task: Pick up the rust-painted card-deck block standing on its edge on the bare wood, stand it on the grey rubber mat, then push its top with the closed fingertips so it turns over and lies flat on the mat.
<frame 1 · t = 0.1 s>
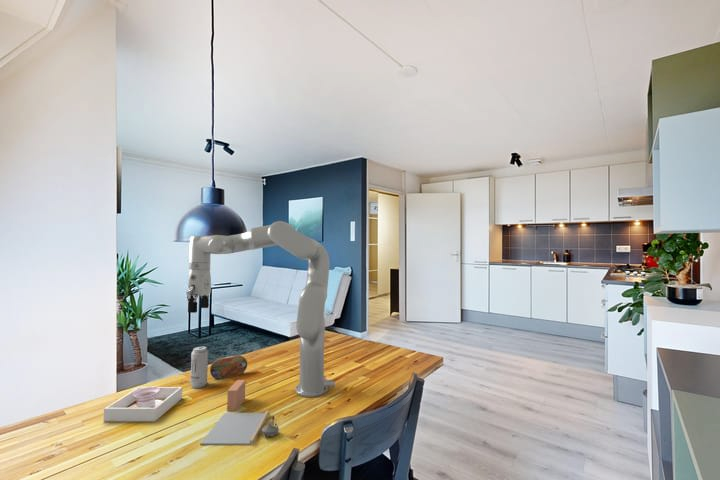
hand: (198, 310, 126), 31 cm above the table, fingers open, 9 cm apart
mat: (236, 428, 99), on the table
energy drink can: (198, 386, 129), on the table
tin: (228, 376, 140), on the table
rectangular tray: (145, 408, 110), on the table
figurine: (270, 435, 95), on the table
deck: (236, 405, 114), on the table
teacup: (145, 410, 110), resting in rectangular tray
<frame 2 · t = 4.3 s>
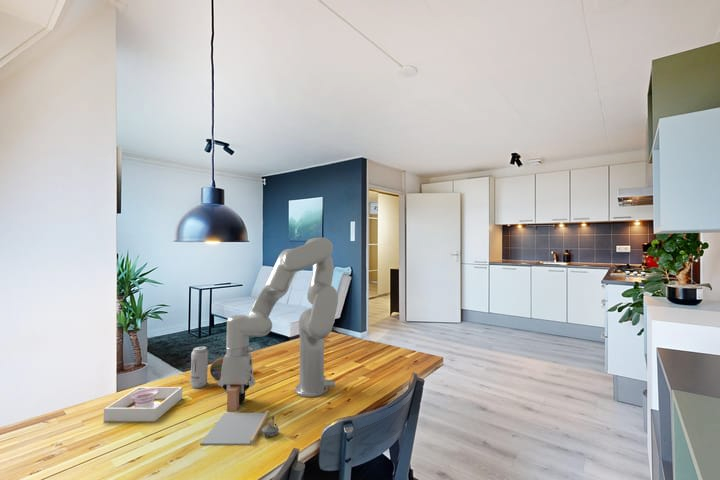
hand: (236, 402, 114), 1 cm above the table, fingers closed on deck, 3 cm apart
deck: (236, 404, 114), on the table, touching gripper
teacup: (143, 412, 109), resting in rectangular tray
everything else where it was.
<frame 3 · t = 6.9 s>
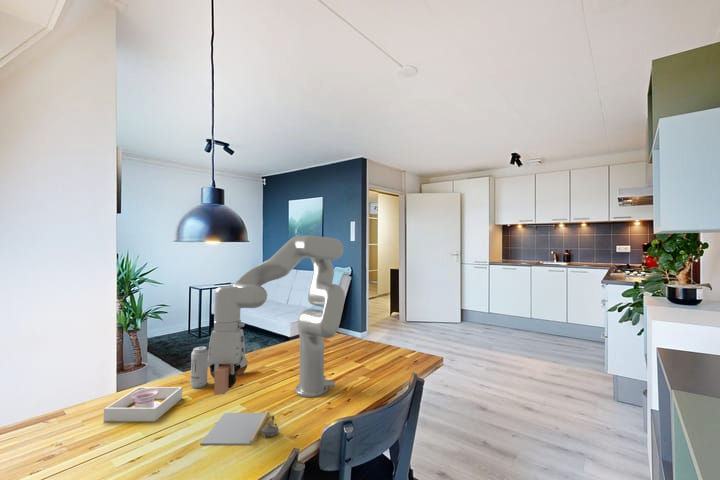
hand: (225, 385, 99), 13 cm above the table, fingers closed on deck, 3 cm apart
deck: (225, 387, 99), point 12 cm above the table, touching gripper
everything else where it was.
when the fingers open (2 cm above the table, at t = 9.4 s): deck stays where it is, resting on mat.
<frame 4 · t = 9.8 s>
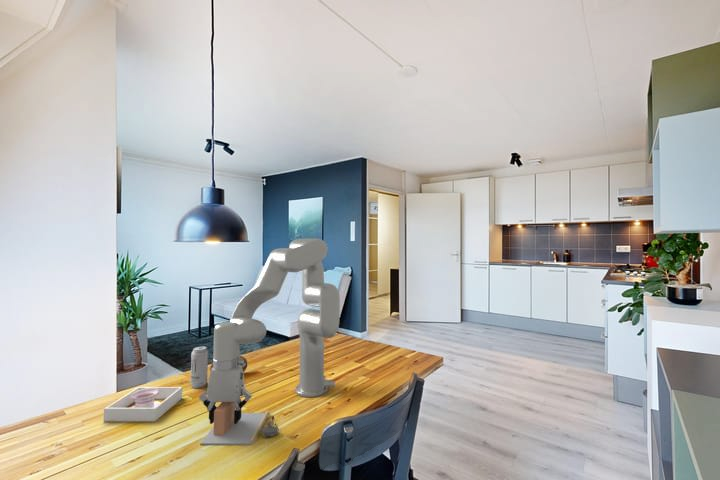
hand: (225, 421, 99), 2 cm above the table, fingers open, 6 cm apart
deck: (224, 426, 99), resting on mat
everything else where it was.
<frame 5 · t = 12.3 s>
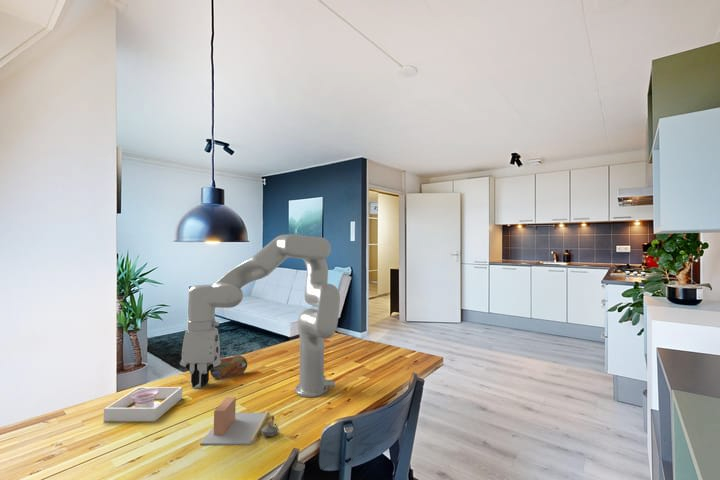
hand: (199, 384, 99), 13 cm above the table, fingers closed
nothing on the table moved.
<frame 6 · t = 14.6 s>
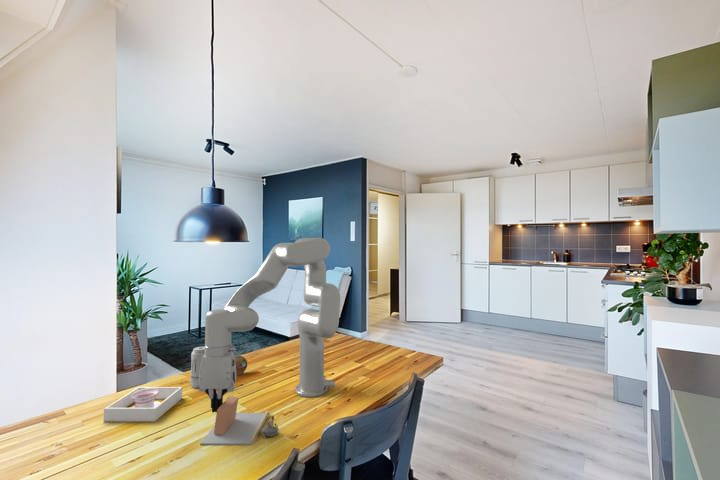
hand: (216, 410, 99), 5 cm above the table, fingers closed
deck: (224, 426, 99), point 1 cm above the table, tilted 7°, touching gripper, mat
everything else where it was.
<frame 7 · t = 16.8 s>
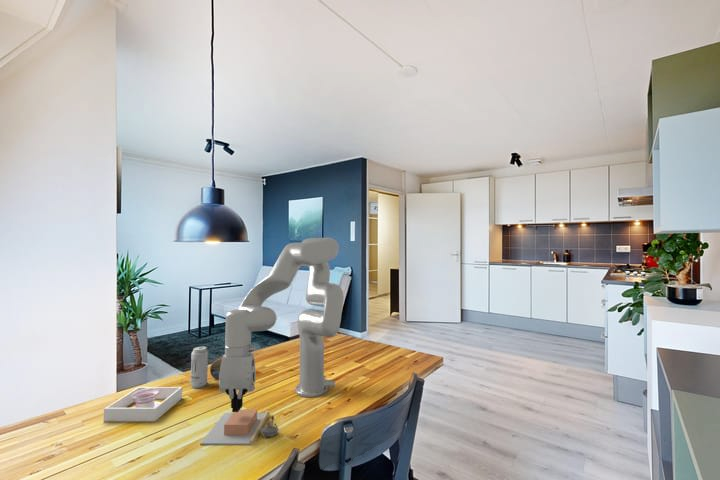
hand: (236, 410, 99), 6 cm above the table, fingers closed
deck: (229, 421, 99), point 2 cm above the table, tilted 90°, touching mat
everything else where it was.
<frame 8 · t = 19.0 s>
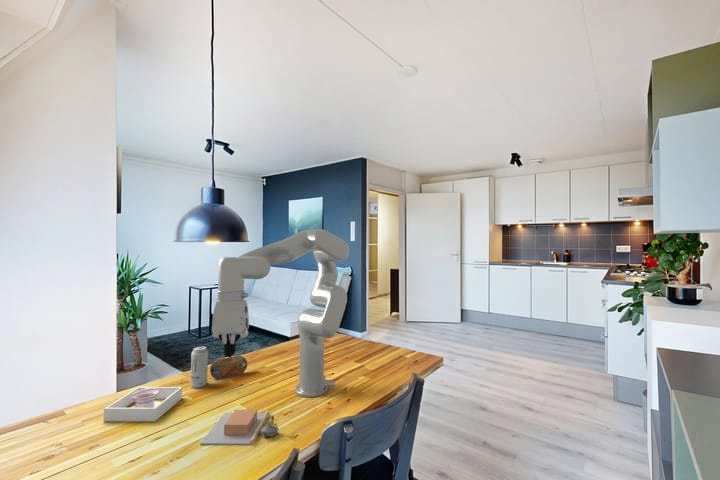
hand: (229, 355, 100), 22 cm above the table, fingers closed
nothing on the table moved.
at the end: deck tilted 90°; deck inside the target area (2.0 cm from its centre), point 1.9 cm above the table; the gripper is holding nothing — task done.
